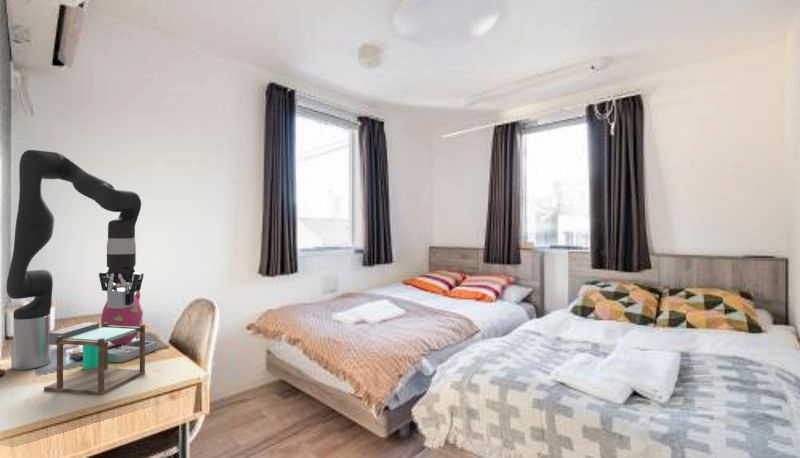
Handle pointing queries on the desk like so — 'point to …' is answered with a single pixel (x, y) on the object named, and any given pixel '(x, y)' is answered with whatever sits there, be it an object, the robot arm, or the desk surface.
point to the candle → (90, 356)
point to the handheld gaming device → (129, 351)
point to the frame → (96, 377)
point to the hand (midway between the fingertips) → (121, 304)
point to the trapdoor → (90, 333)
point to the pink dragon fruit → (124, 318)
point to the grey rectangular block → (117, 298)
